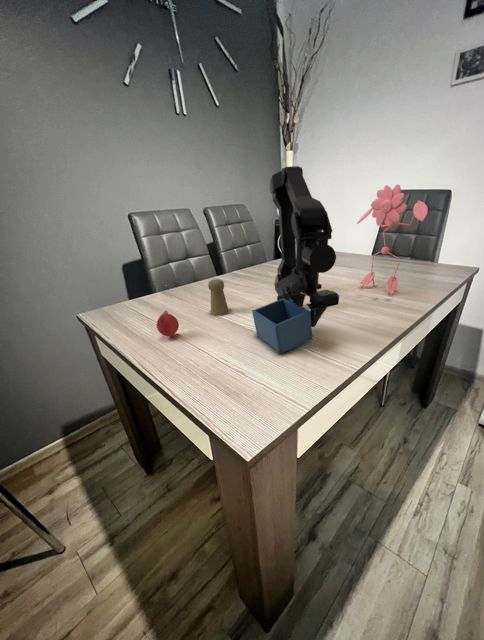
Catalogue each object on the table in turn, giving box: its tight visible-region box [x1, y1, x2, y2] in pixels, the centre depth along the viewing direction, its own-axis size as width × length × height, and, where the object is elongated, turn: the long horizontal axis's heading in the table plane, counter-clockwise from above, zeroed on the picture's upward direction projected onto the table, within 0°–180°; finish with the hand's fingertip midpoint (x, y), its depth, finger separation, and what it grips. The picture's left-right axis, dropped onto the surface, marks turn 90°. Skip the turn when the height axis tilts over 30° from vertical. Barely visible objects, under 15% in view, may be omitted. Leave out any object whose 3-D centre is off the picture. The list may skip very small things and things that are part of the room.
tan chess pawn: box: [207, 278, 229, 316], centre depth 91 cm, size 6×6×11 cm
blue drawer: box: [251, 298, 313, 355], centre depth 71 cm, size 13×12×8 cm
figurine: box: [354, 183, 428, 300], centre depth 95 cm, size 15×26×35 cm, turn 34°
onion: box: [156, 310, 180, 338], centre depth 77 cm, size 6×6×8 cm
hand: (305, 322), depth 75 cm, fingers closed on blue drawer, 7 cm apart
